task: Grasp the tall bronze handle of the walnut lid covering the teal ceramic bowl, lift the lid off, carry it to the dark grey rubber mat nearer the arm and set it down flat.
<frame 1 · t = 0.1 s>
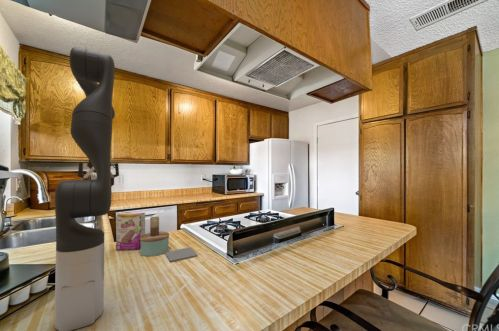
hand: (99, 187, 90), 29 cm above the countertop, fingers open, 8 cm apart
bowl: (154, 251, 94), on the countertop
lid: (154, 237, 95), point 6 cm above the countertop, touching bowl
mat: (181, 254, 90), on the countertop
candy bar box: (130, 248, 98), on the countertop
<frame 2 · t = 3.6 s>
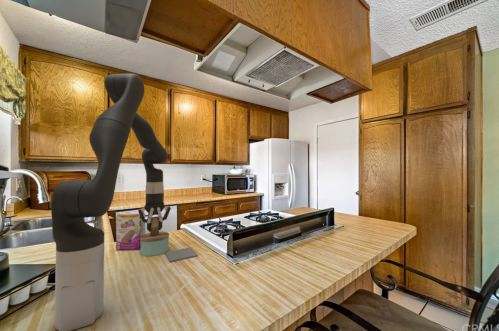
hand: (154, 230, 95), 9 cm above the countertop, fingers closed on lid, 3 cm apart
lid: (154, 237, 95), point 6 cm above the countertop, touching bowl, gripper
everything else where it was.
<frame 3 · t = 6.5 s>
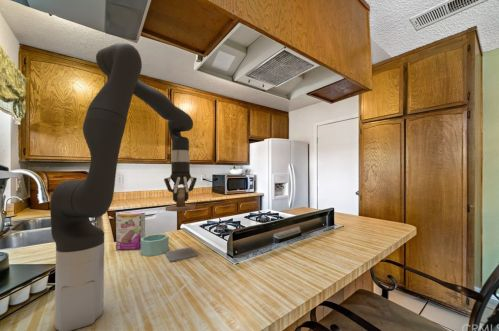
hand: (180, 201, 90), 23 cm above the countertop, fingers closed on lid, 3 cm apart
lid: (180, 208, 90), point 19 cm above the countertop, touching gripper
everything else where it was.
when the fingers open (5 cm above the countertop, at t = 9.8 s): lid drops 1 cm, resting on mat.
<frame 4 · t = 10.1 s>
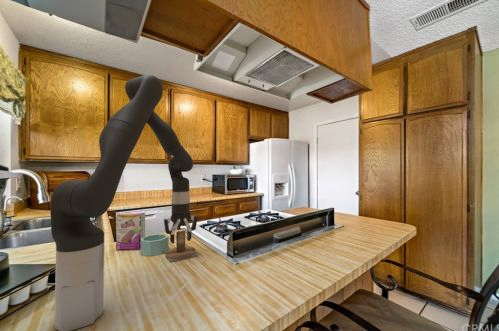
hand: (181, 241, 90), 6 cm above the countertop, fingers open, 6 cm apart
lid: (180, 253, 90), point 1 cm above the countertop, touching mat
everything else where it was.
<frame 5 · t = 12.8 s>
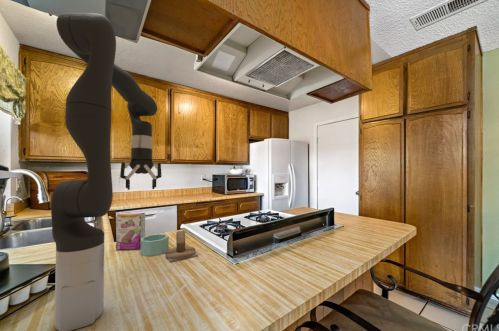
hand: (141, 189, 82), 29 cm above the countertop, fingers open, 8 cm apart
nothing on the countertop moved.
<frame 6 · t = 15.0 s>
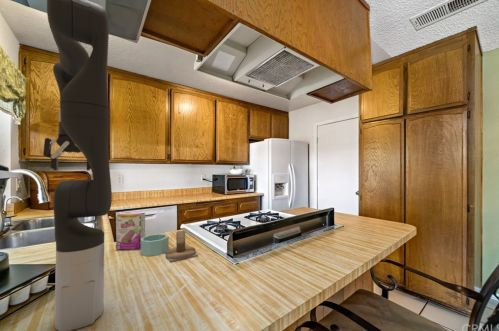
hand: (72, 170, 71), 36 cm above the countertop, fingers open, 8 cm apart
nothing on the countertop moved.
at the end: lid 0.1 cm from the mat (horizontally); lid point 0.6 cm above the countertop; lid tilted 0° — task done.
